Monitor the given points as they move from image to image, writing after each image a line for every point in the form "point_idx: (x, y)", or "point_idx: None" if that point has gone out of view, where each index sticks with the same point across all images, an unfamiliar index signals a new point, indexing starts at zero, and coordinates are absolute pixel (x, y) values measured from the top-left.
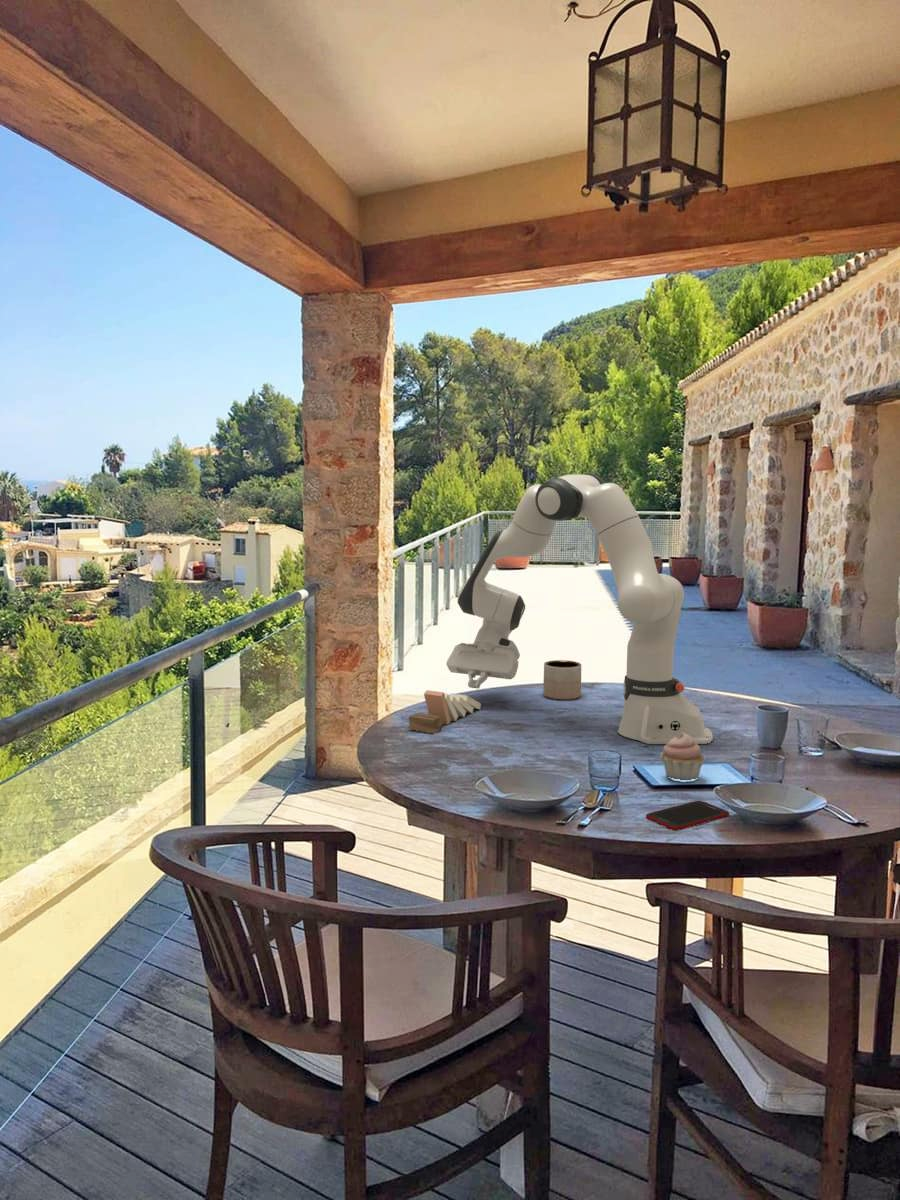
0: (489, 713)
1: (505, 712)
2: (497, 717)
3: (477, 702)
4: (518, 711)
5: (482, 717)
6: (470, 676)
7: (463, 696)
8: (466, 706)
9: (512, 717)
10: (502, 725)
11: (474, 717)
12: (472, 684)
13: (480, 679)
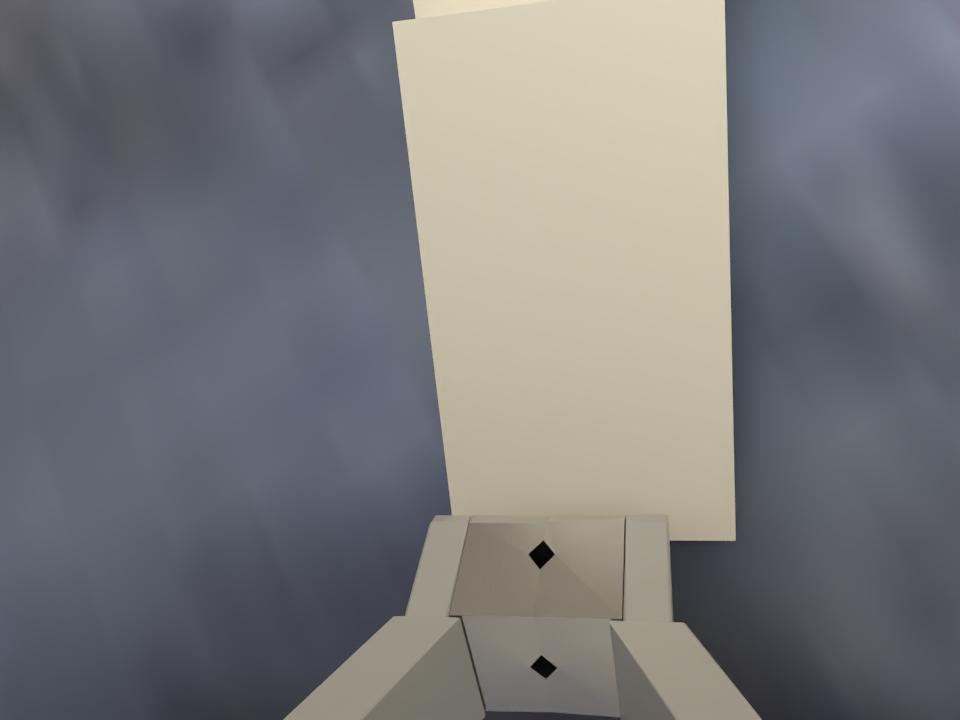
0: (292, 397)
1: (150, 541)
2: (150, 289)
3: (442, 414)
4: (38, 667)
5: (290, 196)
6: (674, 688)
7: (466, 17)
8: None
9: (15, 378)
10: (7, 55)
11: (366, 144)
12: (548, 520)
13: (370, 643)
